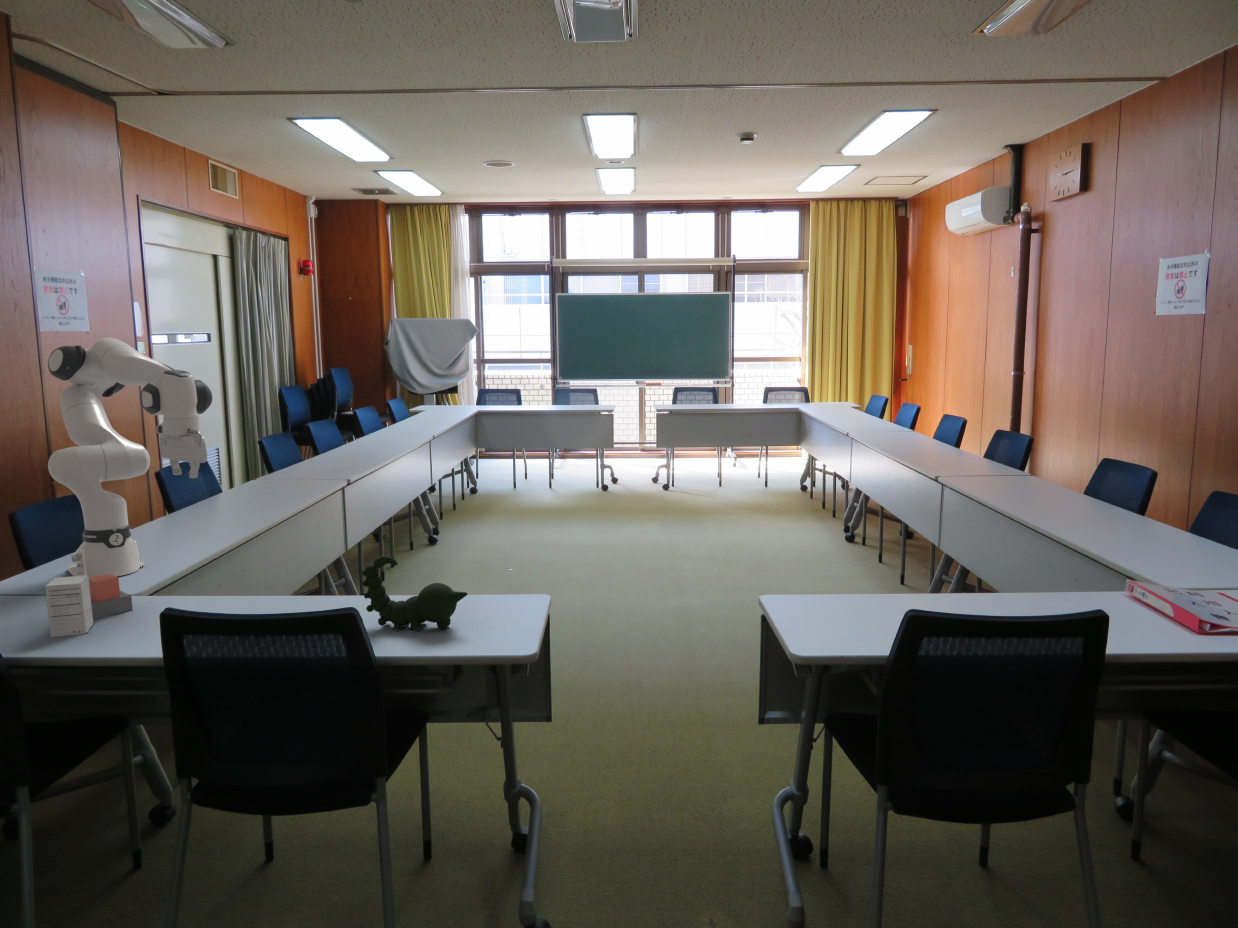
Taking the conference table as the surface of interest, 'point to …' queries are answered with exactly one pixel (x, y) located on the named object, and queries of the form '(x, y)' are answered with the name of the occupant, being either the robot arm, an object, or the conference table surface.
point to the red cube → (104, 587)
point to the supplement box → (69, 605)
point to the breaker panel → (112, 606)
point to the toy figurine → (409, 601)
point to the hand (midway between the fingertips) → (185, 476)
